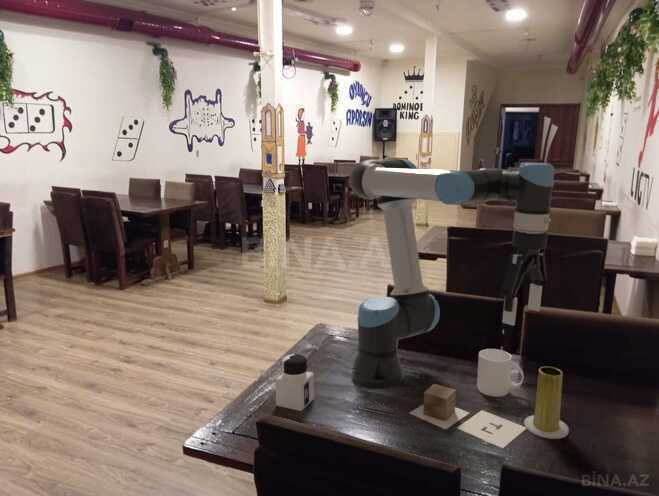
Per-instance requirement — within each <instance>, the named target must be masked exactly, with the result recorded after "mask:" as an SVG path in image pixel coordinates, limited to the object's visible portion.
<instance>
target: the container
mask: <svg viewBox="0 0 659 496" xmlns="http://www.w3.org/2000/svg"><path fill="white" fill-rule="evenodd" d="M281 360H282V361H281V362H282V363H281V365H282V369H281V370H282V373H281V374H280V375H279V376H278V377H276V379H275V402H276V403H275V404H276V405H275V406H277V407H281V408H285V409H288V410H289V409H290V410H292V411H293V410H294V411H298V412H302V411H303V410H304V409H305V408H306V407H307V406H308V405H309V404H311V402H313V401H314V399H315V373H314V372H311V371H308V359H307V357H306V356H305V355H304V354H303V355H302V354H299V353H292V354H288V355H285V356H284V357H282V359H281Z"/></svg>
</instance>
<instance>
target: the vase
mask: <svg viewBox="0 0 659 496" xmlns="http://www.w3.org/2000/svg"><path fill="white" fill-rule="evenodd" d="M563 374H564V373H563V371H562V370H561V369H559V368H557V367H553V366H541V367H540V368H539V369H538V378H537V389H536V395H535V404H534V405H535V406H534V414H533V415H534V419H533V425H534V426H535V427H536V428H538V429H540V430H542V431H546V432H555V431H557V430H559V429H560V426H559V421H561V420H560V419H561V406H562V405H561V404H562V389H563V388H562V385H563V377H564V376H563Z"/></svg>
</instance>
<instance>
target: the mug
mask: <svg viewBox="0 0 659 496" xmlns="http://www.w3.org/2000/svg"><path fill="white" fill-rule="evenodd" d="M477 363H478V365H477V366H478V367H477V379H476V380H477V383H476V385H477V389H478V391H479V392H480V393H481V394H483V395H485V396H488V397H489V396H490V397H494V398H495V397H496V398H498V397H504V396H507V395H508V394H509V393H510V390H516V389H518V388H519V387H521V385H522V384H523V381H524V377H525V376H524V375H525V374H524V372H523V369H522V367H521V366H520V365H518V364H517V363H516V362H514V361H512V354H510V353H509V352H507V351H505V350H501V349H497V348H486V349H482V350H480V351H479V352H478V362H477ZM512 369H514V370H517V372H519V373H520V375H521V380H520V381H519V382H518V383H513V382H511V371H512Z"/></svg>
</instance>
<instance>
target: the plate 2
mask: <svg viewBox="0 0 659 496" xmlns="http://www.w3.org/2000/svg"><path fill="white" fill-rule="evenodd" d="M456 429H458V430H461V431H462V432H465V433H467V434H469V435H472V436H474V437H476V438H479V439H481V440H483V441H485V442H488V443H490V444H492V445H494V446H497V447H499V448H501V449H504V448H505V447H506V446H508V445H509V444H510V443H511V442H512V441H513V440H514V439H516V437H518V436H519V435H520V434H521V433H524V432H525V431H527V428H526V426H523V425H520V424H518V423H515V422H513V421H511V420H508V419H505V418H503V417H501V416H499V415H495V414H493V413H490V412H488V411H486V410H480V411H479V412H477V413H475V415H473V416H471V417H470V418H469V419H467V420H466V421H465V422H463V423H462V424H460V425H459V426H458V427H456Z"/></svg>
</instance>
